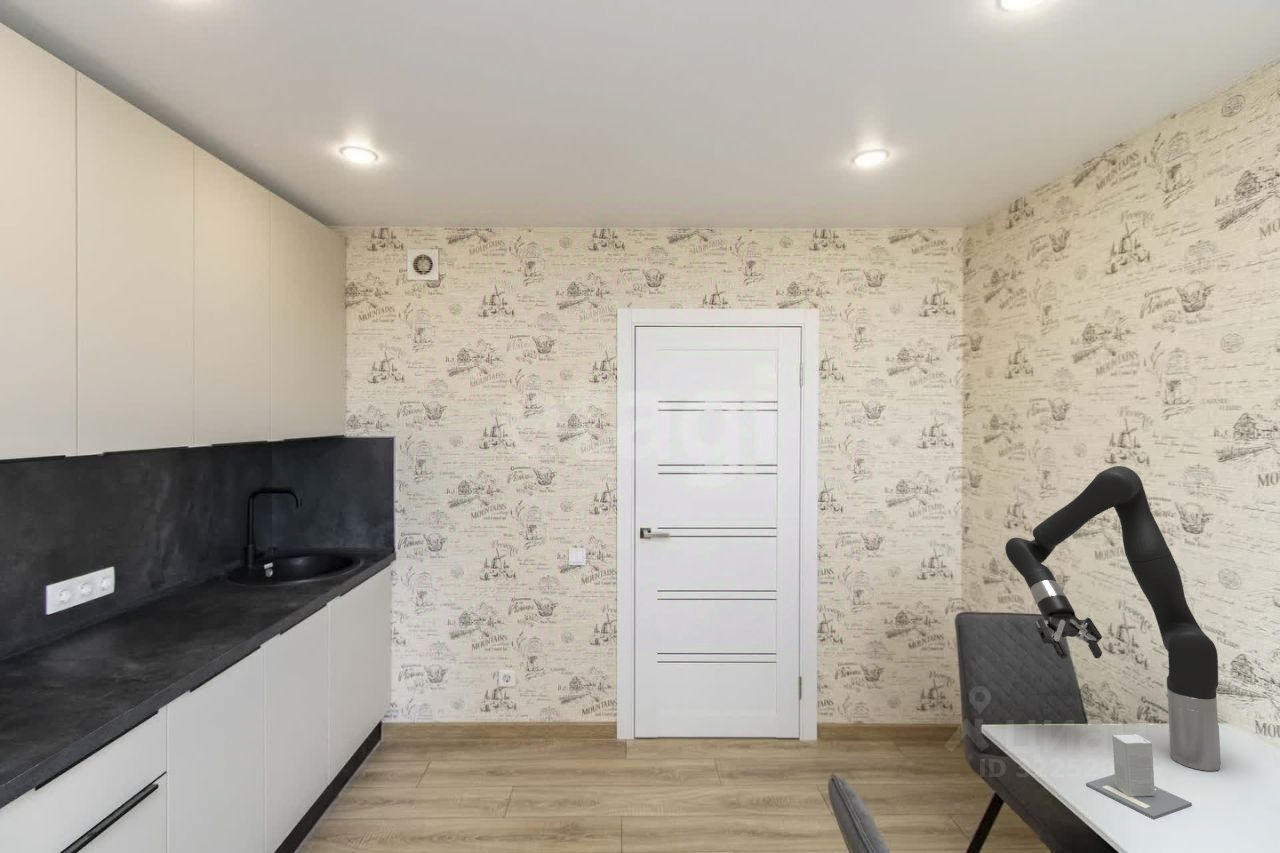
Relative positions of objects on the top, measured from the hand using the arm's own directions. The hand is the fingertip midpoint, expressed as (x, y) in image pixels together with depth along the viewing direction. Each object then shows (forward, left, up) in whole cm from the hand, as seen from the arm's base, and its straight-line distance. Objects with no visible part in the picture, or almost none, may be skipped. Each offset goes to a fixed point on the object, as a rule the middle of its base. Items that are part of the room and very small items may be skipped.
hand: (1081, 657), depth 158 cm
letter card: (+7, +16, -25) cm, 31 cm away
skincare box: (+8, +16, -25) cm, 30 cm away
